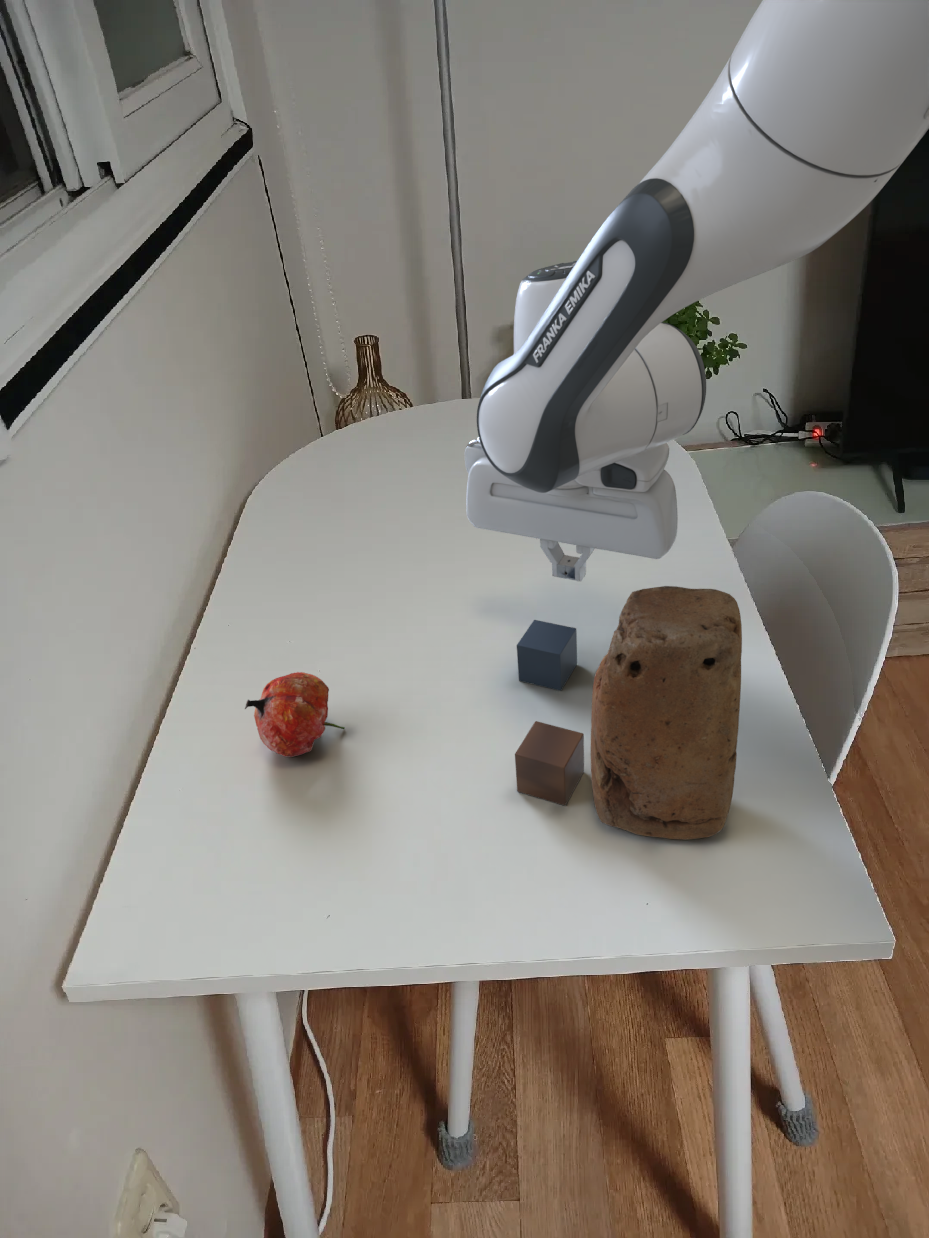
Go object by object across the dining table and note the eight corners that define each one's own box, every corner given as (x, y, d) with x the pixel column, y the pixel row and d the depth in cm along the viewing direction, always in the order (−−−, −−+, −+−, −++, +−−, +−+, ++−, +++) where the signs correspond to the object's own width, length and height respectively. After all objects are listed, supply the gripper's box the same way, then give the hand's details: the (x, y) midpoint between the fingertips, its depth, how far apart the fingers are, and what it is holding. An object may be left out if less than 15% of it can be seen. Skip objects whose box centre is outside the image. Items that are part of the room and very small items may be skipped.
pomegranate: (324, 724, 93) (228, 694, 88) (361, 675, 89) (264, 641, 85) (328, 783, 87) (227, 755, 83) (369, 733, 84) (265, 700, 79)
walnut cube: (584, 771, 82) (584, 733, 79) (565, 806, 79) (564, 768, 76) (537, 757, 84) (535, 720, 81) (516, 791, 80) (514, 753, 78)
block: (722, 780, 80) (743, 580, 68) (730, 849, 74) (755, 643, 62) (592, 774, 81) (591, 579, 70) (589, 842, 75) (587, 640, 64)
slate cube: (577, 664, 94) (576, 628, 91) (561, 691, 91) (560, 654, 88) (535, 654, 96) (534, 619, 93) (518, 680, 92) (516, 644, 90)
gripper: (448, 448, 88) (460, 574, 96) (667, 478, 80) (660, 613, 88) (477, 420, 92) (486, 543, 100) (687, 446, 84) (678, 577, 92)
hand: (569, 576), depth 94 cm, fingers closed
